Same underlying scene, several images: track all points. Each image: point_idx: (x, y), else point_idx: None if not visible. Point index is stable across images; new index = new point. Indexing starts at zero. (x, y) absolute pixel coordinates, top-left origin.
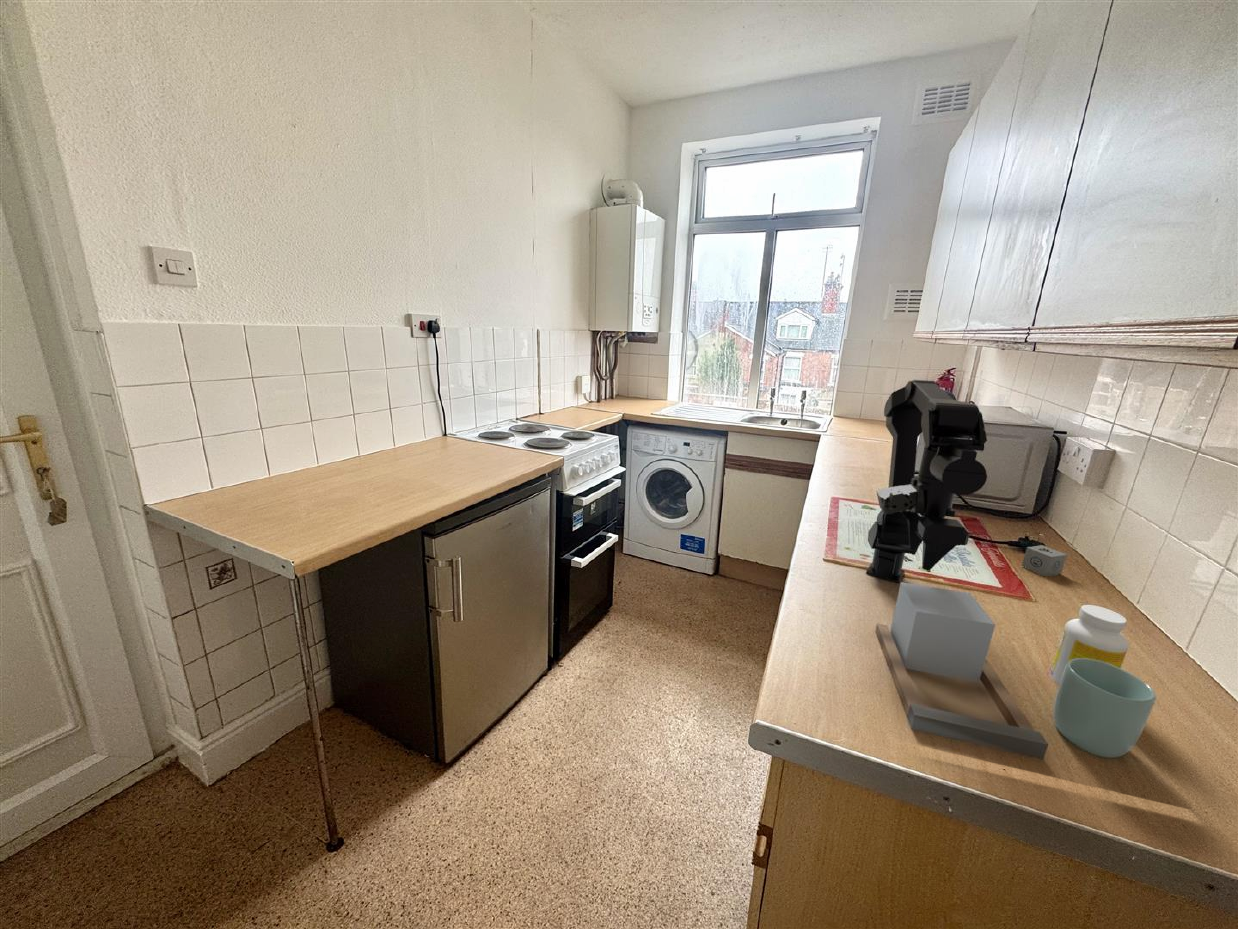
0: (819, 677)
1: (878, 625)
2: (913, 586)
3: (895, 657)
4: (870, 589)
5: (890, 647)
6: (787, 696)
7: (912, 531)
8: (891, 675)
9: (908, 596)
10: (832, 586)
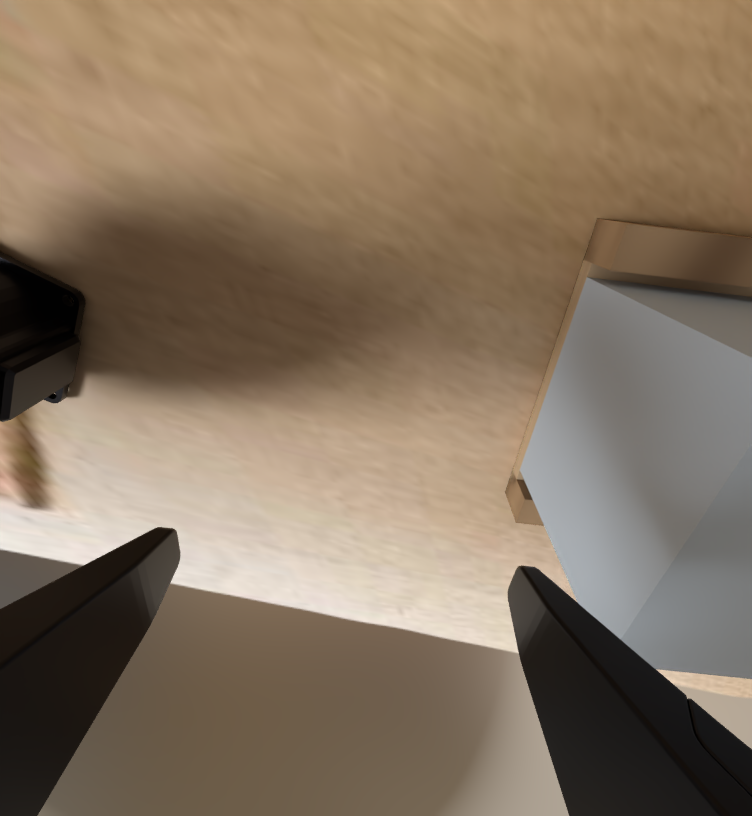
0: None
1: (527, 521)
2: (654, 635)
3: None
4: (201, 420)
5: None
6: None
7: (72, 735)
8: None
9: (746, 677)
10: (236, 524)
